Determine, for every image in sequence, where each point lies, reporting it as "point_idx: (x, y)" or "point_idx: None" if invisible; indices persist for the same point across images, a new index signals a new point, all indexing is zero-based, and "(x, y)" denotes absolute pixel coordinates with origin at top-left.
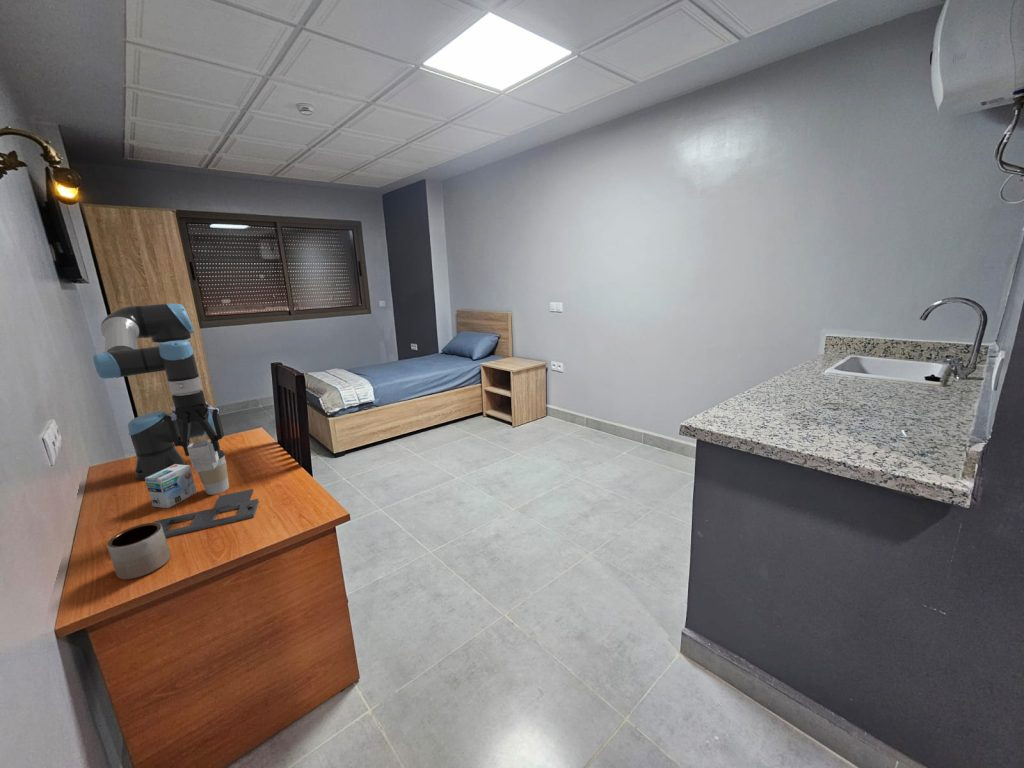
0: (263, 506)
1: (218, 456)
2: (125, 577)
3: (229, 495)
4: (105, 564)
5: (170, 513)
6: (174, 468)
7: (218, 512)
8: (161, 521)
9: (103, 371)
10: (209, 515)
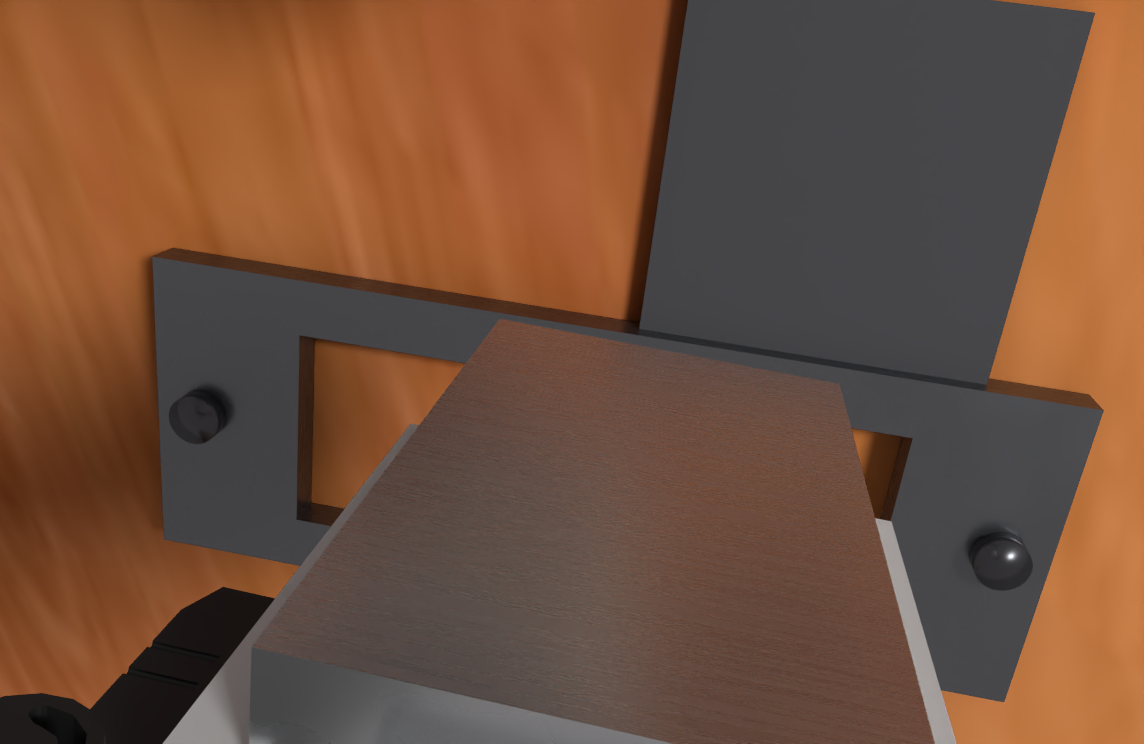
0: (1111, 527)
1: (900, 555)
2: None
3: (806, 36)
4: (57, 657)
5: (242, 69)
6: None
7: None
8: (224, 307)
9: None
10: None
